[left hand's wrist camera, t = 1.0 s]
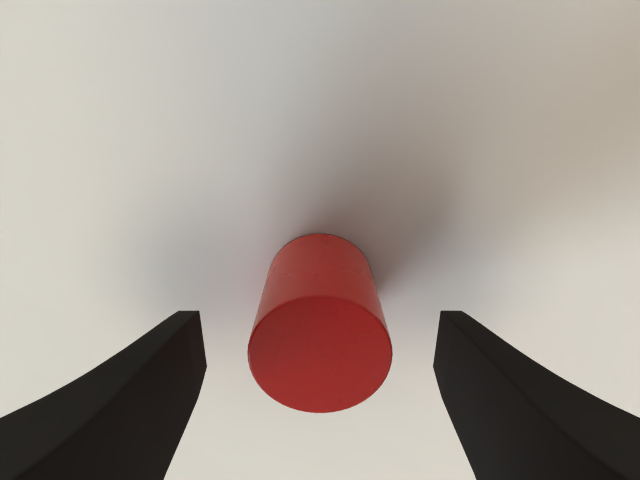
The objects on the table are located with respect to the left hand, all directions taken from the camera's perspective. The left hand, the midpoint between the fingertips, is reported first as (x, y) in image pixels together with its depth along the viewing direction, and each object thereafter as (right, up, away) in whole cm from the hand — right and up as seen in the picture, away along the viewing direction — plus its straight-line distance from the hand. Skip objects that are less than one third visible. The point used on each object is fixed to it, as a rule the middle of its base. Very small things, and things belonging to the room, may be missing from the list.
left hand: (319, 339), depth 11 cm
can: (0, +1, +3) cm, 4 cm away
